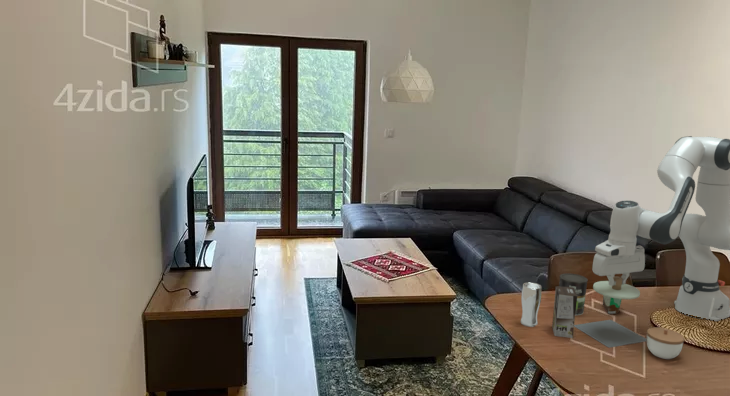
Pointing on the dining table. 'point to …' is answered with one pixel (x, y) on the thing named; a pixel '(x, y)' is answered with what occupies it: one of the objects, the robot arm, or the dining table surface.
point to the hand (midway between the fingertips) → (616, 284)
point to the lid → (616, 289)
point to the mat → (610, 333)
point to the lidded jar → (664, 342)
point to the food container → (611, 304)
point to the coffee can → (575, 288)
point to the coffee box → (564, 311)
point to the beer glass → (530, 303)
